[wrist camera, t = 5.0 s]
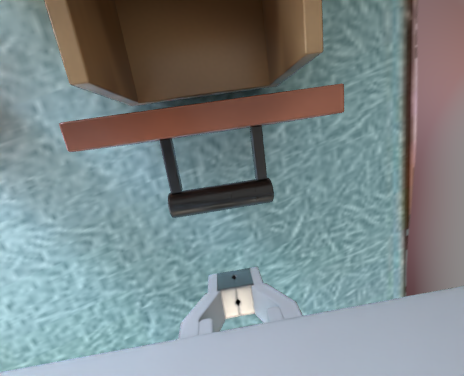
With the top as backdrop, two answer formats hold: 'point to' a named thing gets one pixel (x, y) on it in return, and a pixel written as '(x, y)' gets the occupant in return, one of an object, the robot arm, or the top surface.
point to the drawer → (191, 77)
